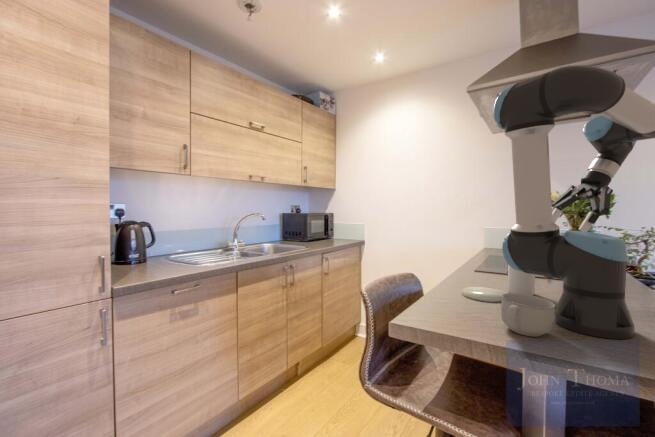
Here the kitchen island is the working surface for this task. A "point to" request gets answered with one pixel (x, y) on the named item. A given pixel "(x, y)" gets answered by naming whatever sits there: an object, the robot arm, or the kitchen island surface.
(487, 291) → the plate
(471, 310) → the kitchen island surface
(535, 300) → the teacup
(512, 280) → the pill bottle
